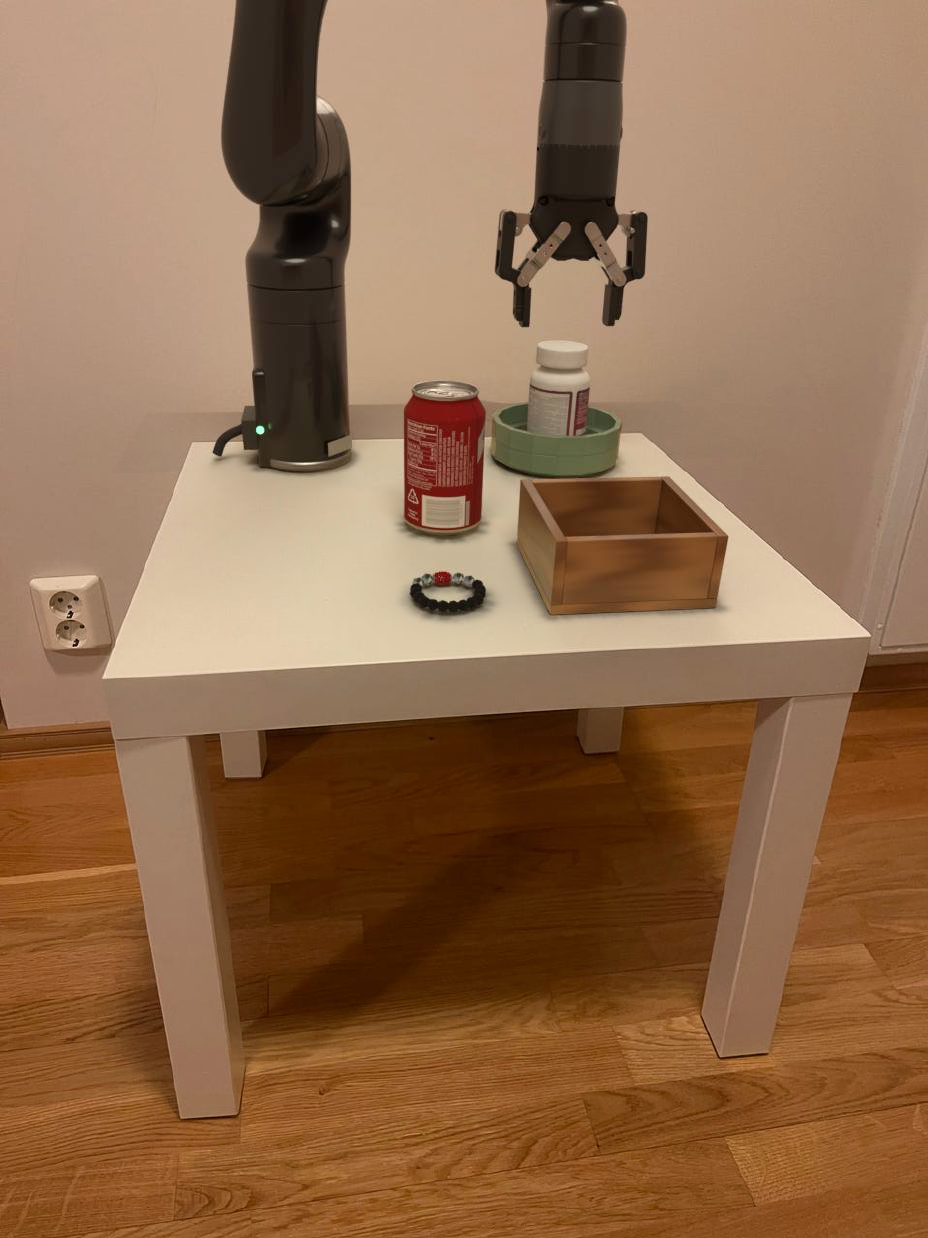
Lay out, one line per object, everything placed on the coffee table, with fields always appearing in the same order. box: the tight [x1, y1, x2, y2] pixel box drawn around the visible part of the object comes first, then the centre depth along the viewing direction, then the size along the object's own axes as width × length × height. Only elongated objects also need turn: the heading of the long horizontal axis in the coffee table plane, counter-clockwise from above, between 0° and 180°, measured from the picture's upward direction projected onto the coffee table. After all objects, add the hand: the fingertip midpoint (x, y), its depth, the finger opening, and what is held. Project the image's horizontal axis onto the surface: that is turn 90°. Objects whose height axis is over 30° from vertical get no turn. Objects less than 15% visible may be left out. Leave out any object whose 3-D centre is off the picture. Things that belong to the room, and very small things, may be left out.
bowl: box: [490, 401, 623, 479], centre depth 95 cm, size 13×13×4 cm
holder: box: [516, 475, 729, 616], centre depth 70 cm, size 13×13×6 cm
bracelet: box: [409, 570, 487, 613], centre depth 67 cm, size 6×6×1 cm
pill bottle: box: [527, 339, 591, 436], centre depth 93 cm, size 6×6×11 cm
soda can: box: [403, 379, 487, 537], centre depth 77 cm, size 7×7×12 cm
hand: (565, 325), depth 90 cm, fingers open, 8 cm apart
